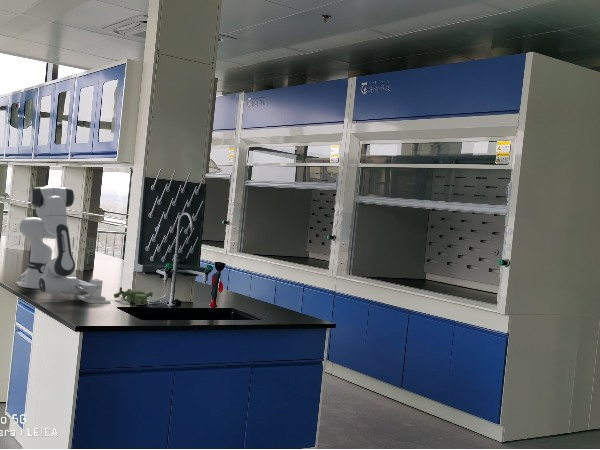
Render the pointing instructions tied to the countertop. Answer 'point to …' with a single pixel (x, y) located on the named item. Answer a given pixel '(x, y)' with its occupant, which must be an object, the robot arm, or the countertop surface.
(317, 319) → the countertop surface
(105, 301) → the outlet plate
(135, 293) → the toy
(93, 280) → the charger
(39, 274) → the robot arm
